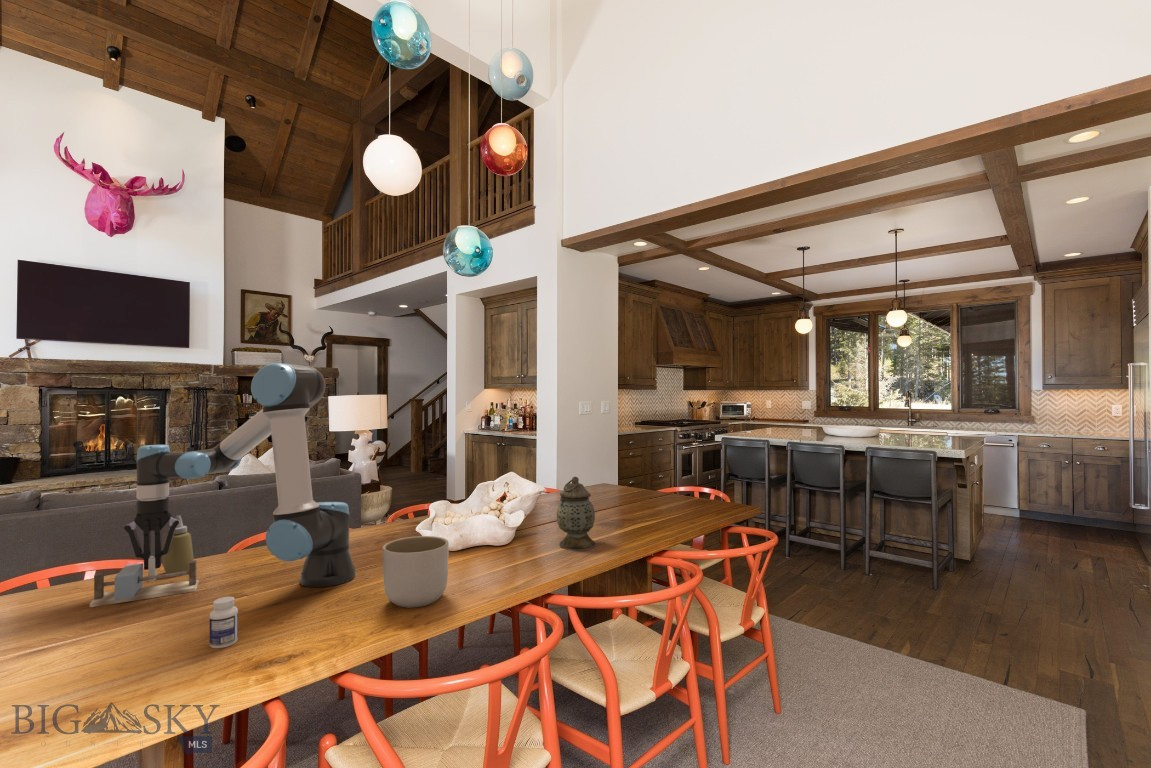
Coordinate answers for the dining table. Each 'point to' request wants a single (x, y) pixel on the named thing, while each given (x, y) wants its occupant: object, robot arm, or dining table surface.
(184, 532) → the squeeze bottle
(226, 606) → the pill bottle
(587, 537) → the lantern
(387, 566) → the planter
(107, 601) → the rail
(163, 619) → the dining table surface
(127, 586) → the block
